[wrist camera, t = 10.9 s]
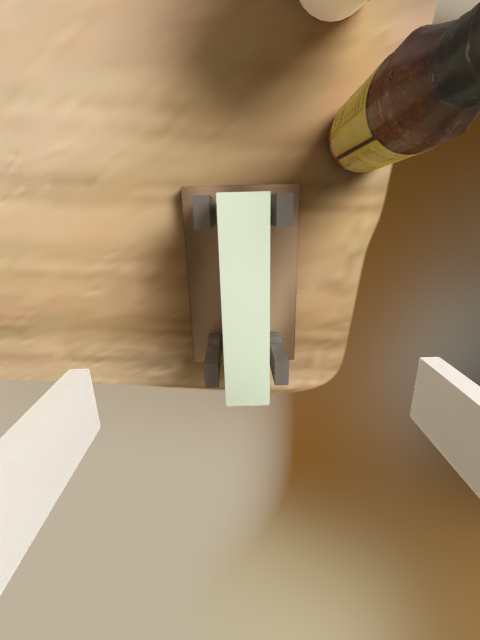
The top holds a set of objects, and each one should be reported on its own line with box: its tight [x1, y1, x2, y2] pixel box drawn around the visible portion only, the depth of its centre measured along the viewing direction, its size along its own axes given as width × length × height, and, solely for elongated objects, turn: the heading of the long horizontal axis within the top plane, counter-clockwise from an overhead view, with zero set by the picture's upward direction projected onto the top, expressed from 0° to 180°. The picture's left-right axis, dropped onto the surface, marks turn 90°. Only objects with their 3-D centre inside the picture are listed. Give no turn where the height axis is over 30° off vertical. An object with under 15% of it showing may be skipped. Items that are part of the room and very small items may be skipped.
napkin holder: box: [181, 184, 300, 388], centre depth 30 cm, size 11×18×8 cm, turn 1°
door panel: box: [216, 191, 271, 406], centre depth 28 cm, size 4×16×10 cm, turn 2°
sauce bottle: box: [328, 3, 480, 173], centre depth 21 cm, size 7×6×20 cm
